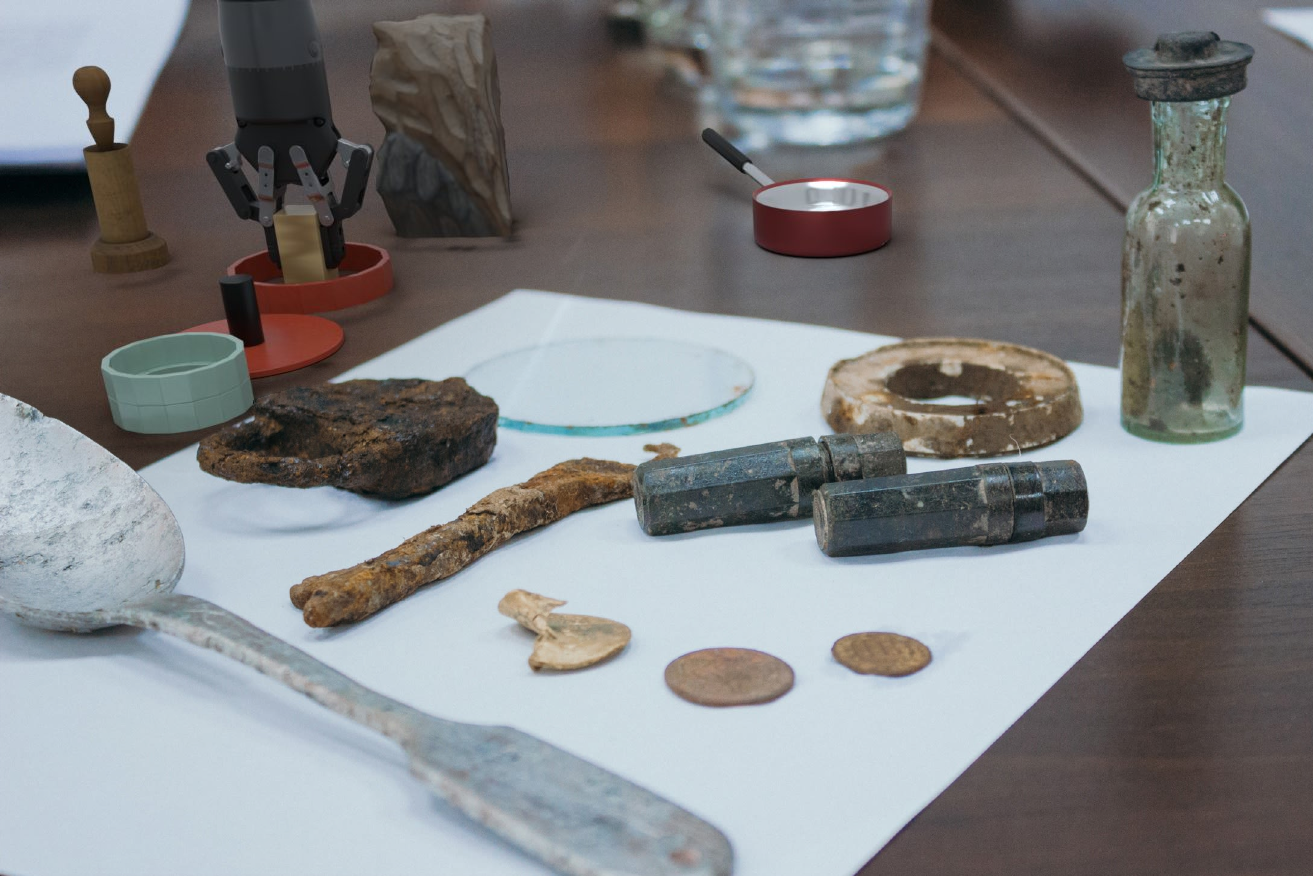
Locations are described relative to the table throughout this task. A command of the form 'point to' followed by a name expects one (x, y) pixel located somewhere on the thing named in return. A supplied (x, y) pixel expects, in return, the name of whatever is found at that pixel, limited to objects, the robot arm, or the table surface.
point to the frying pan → (813, 210)
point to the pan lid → (271, 331)
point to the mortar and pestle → (115, 188)
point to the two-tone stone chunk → (440, 127)
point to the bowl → (178, 382)
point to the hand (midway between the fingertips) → (309, 265)
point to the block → (301, 245)
